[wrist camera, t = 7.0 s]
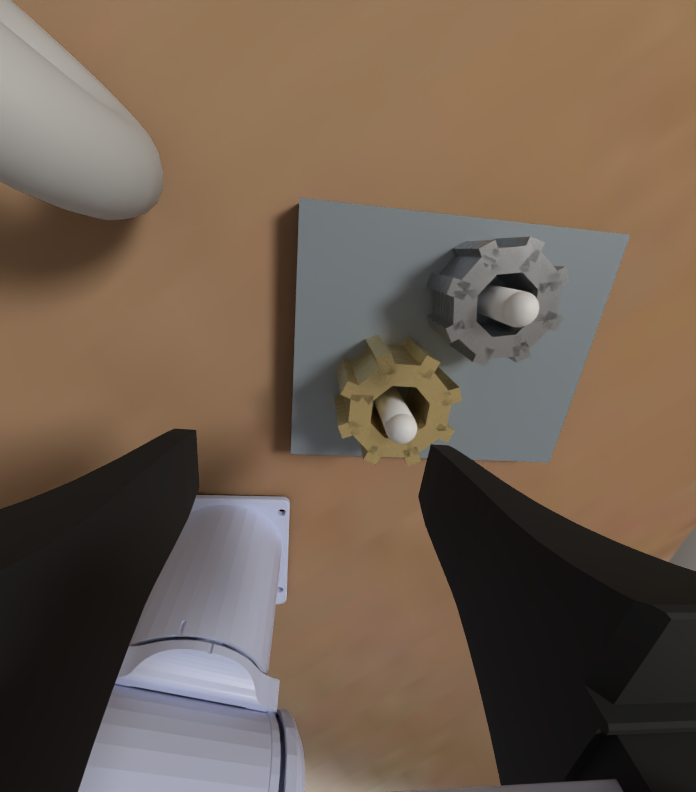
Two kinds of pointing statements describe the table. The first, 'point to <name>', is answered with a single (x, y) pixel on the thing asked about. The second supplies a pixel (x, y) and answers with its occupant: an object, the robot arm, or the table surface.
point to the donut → (68, 130)
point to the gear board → (406, 317)
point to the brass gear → (424, 399)
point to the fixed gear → (517, 270)
